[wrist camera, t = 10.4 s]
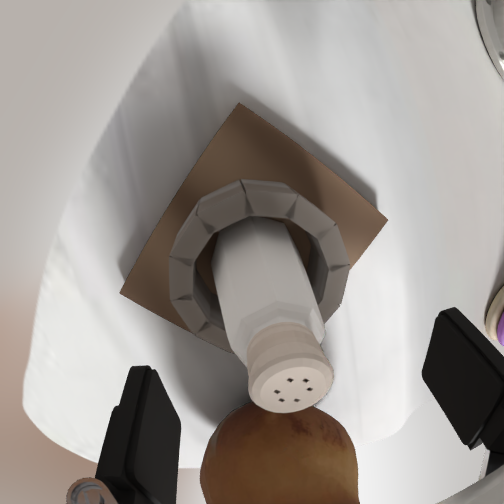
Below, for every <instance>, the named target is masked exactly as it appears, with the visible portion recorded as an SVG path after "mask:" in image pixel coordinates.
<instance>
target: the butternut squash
mask: <svg viewBox="0 0 504 504" xmlns="http://www.w3.org/2000/svg"><path fill="white" fill-rule="evenodd" d="M200 484H201V488H202V491H203V494H204V497H205V500H206V503H207V504H360V502H359V498H358V464H357V458H356V453H355V448H354V445H353V443H352V441H351V438H350V437H349V435H348V433H347V431H346V430H345V428H344V427H343V426H342V425H341V424H340V423H339V422H338V421H337V420H336V419H334V418H333V417H332V416H330V415H328V414H327V413H325V412H323V411H321V410H319V409H317V408H315V407H313V406H310V407H307V408H305V409H303V410H299V411H296V412H289V413H276V412H271V411H268V410H265V409H263V408H261V407H260V406H258V405H256V404H255V403H254V402H253V401H252V402H250V403H248V404H246V405H244V406H242V407H240V408H238V409H236V410H234V411H232V412H231V413H230V414H229V415H228V416H227V417H226V418H225V419H224V420H223V421H222V422H221V423H220V424H219V426H218V427H217V429H216V430H215V432H214V433H213V435H212V436H211V438H210V439H209V442H208V445H207V448H206V451H205V454H204V458H203V462H202V465H201V470H200Z"/></svg>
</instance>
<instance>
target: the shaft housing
mask: <svg viewBox="0 0 504 504" xmlns="http://www.w3.org/2000/svg"><path fill="white" fill-rule="evenodd" d="M248 216H259V217H263V218H267V219H271V220H274V221H278V222H281V223H284V224H285V226H286V228H287V230H288V232H289V233H290V235H291V237H292V239H293V241H294V243H295V245H296V247H297V249H298V251H299V254H300V256H301V259H302V262H303V265H304V268H305V270H306V273H307V276H308V279H309V282H310V285H311V288H312V290H313V293H314V296H315V299H316V302H317V305H318V308H319V311H320V314H321V317H322V320H323V323H324V324H325V323H326V321H327V320H328V319H329V318H330V317H331V316H332V315H333V313H334V312H335V311H336V310H337V309H338V308H339V307H340V305H339V304H341V303H342V299H343V295H344V291H345V286H346V282H347V278H348V274H349V270H350V269H351V268H352V267H353V265H354V264H355V263H356V262H357V260H358V259H359V258H360V257H361V255H362V254H363V253H364V251H365V250H366V249H367V248H368V246H369V245H370V244H371V242H372V241H373V240H374V238H375V237H376V236H377V234H378V233H379V232H380V231H381V229H382V228H383V226H384V225H385V224H386V222H387V221H388V219H387V218H386V217H385V216H384V215H382V214H381V213H380V212H379V211H378V210H377V209H376V208H375V207H374V206H373V205H371V204H370V203H369V202H368V201H367V200H366V199H365V198H363V197H362V196H361V195H360V194H359V193H358V192H357V191H355V190H354V189H353V188H352V187H351V186H350V185H348V184H347V183H346V182H345V181H344V180H342V179H341V178H340V177H339V176H338V175H336V174H335V173H334V172H333V171H331V170H330V169H329V168H328V167H327V166H325V165H324V164H323V163H322V162H320V161H319V160H318V159H316V158H315V157H314V156H313V155H311V154H310V153H309V152H307V151H306V150H305V149H304V148H302V147H301V146H300V145H298V144H297V143H296V142H294V141H293V140H292V139H290V138H289V137H288V136H286V135H285V134H284V133H282V132H281V131H279V130H278V129H277V128H275V127H274V126H272V125H271V124H270V123H268V122H267V121H265V120H264V119H263V118H261V117H260V116H258V115H257V114H255V113H254V112H252V111H251V110H250V109H248V108H247V107H245V106H244V105H242V104H241V103H238V105H237V106H236V107H235V109H234V110H233V111H232V113H231V114H230V115H229V117H228V118H227V119H226V121H225V122H224V124H223V125H222V126H221V128H220V129H219V131H218V132H217V133H216V135H215V136H214V138H213V139H212V141H211V142H210V143H209V145H208V146H207V148H206V149H205V151H204V152H203V154H202V155H201V157H200V158H199V160H198V161H197V163H196V164H195V166H194V167H193V169H192V170H191V172H190V173H189V175H188V176H187V178H186V179H185V181H184V182H183V184H182V186H181V187H180V189H179V190H178V192H177V193H176V195H175V197H174V198H173V200H172V201H171V203H170V205H169V206H168V208H167V210H166V211H165V213H164V214H163V216H162V218H161V219H160V221H159V223H158V224H157V226H156V228H155V229H154V231H153V233H152V235H151V236H150V238H149V240H148V242H147V243H146V245H145V247H144V248H143V250H142V252H141V254H140V256H139V257H138V259H137V261H136V263H135V265H134V266H133V268H132V270H131V272H130V274H129V276H128V277H127V279H126V281H125V283H124V285H123V287H122V289H121V291H120V294H121V295H123V296H125V297H127V298H128V299H130V300H132V301H134V302H135V303H137V304H139V305H141V306H142V307H144V308H146V309H148V310H150V311H151V312H153V313H155V314H157V315H159V316H161V317H162V318H164V319H166V320H168V321H170V322H172V323H174V324H176V325H177V326H179V327H181V328H183V329H185V330H187V331H189V332H191V333H193V334H195V336H196V337H198V338H201V339H203V340H205V341H207V342H209V343H211V344H213V345H215V346H217V347H219V348H221V349H223V350H225V351H227V352H230V353H231V352H232V353H234V354H235V352H234V351H233V350H232V349H231V346H230V343H229V340H228V337H227V333H226V329H225V325H224V320H223V316H222V312H221V307H220V303H219V299H218V294H217V290H216V285H215V280H214V276H213V271H212V267H211V260H212V256H213V253H214V249H215V245H216V242H217V238H218V235H219V231H221V230H223V229H225V228H226V227H228V226H230V225H232V224H234V223H235V222H237V221H240V220H242V219H244V218H246V217H248Z"/></svg>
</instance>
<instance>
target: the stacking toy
mask: <svg viewBox="0 0 504 504" xmlns="http://www.w3.org/2000/svg"><path fill="white" fill-rule="evenodd" d="M485 326H486V332H487V334H488V336H489V337H490V338H491V339H493V340H498V341H499V342H500V344H501V345H503V346H504V286H503V287H502V288H501V290H500V291H499V292H498V294H497V295H496V297H495V298H494V300H493V302H492V304H491V306H490V308H489V311H488V314H487V318H486V324H485Z"/></svg>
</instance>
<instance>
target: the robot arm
mask: <svg viewBox="0 0 504 504" xmlns="http://www.w3.org/2000/svg"><path fill="white" fill-rule="evenodd" d="M476 12H477V19H478V23H479V27H480V31H481V34H482V37H483V40H484V43H485V45H486V48H487V50H488V53H489V55H490V57H491V59H492V61H493V63H494V65H495V67H496V69H497V70H498V72H499V74H500V75H501V77H502V79H503V80H504V0H476ZM422 378H423V380H424V382H425V383H426V385H427V386H428V388H429V389H430V391H431V392H432V394H433V396H434V397H435V399H436V400H437V402H438V403H439V405H440V407H441V408H442V410H443V411H444V413H445V415H446V416H447V418H448V420H449V421H450V423H451V424H452V426H453V427H454V429H455V431H456V433H457V435H458V436H459V438H460V440H461V441H462V443H463V444H464V445H468V447H469V449H470V450H472V449H474V448H476V447H477V446H479V445H481V444H482V443H483V444H484V445H485V447H486V448H485V453H484V459H483V464H482V468H481V472H480V477H479V481H477V482H476V483H474V484H472V485H471V486H469V487H467V488H466V489H464V490H462V491H460V492H458V493H456V494H454V495H453V496H451V497H449V498H447V499H445V500H443V501H441V502H439V503H437V504H504V356H503V355H502V354H501V353H500V352H499V351H498V350H497V349H496V348H495V347H494V346H493V345H492V343H491V342H490V341H489V340H488V339H487V338H486V337H485V336H484V335H483V334H482V333H481V332H480V331H479V330H478V329H477V328H476V327H475V326H474V325H473V324H472V323H471V322H470V321H469V320H468V319H467V318H466V317H465V316H464V315H463V314H462V313H461V312H460V311H459V310H458V309H457V308H455V307H453V308H449V309H446V310H443V311H441V312H440V313H439V315H438V317H436V319H435V323H434V328H433V332H432V336H431V340H430V344H429V348H428V351H427V355H426V358H425V362H424V365H423V369H422ZM180 436H181V422H180V419H179V417H178V415H177V413H176V411H175V409H174V407H173V405H172V403H171V400H170V398H169V396H168V394H167V392H166V390H165V388H164V386H163V384H162V381H161V379H160V377H159V375H158V373H157V371H156V370H155V369H154V370H152V369H151V367H150V366H148V365H146V366H132V367H131V368H130V370H129V373H128V377H127V380H126V383H125V386H124V390H123V393H122V397H121V400H120V404H119V405H118V406H115V407H114V409H113V411H112V414H111V417H110V421H109V424H108V428H107V432H106V435H105V439H104V443H103V447H102V451H101V454H100V458H99V462H98V467H97V471H96V475H95V478H91V477H89V478H82V479H79V480H77V481H76V482H74V483H73V484H72V485H71V486H70V488H69V489H68V492H67V495H66V502H67V504H176V493H177V476H178V462H179V448H180Z"/></svg>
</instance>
